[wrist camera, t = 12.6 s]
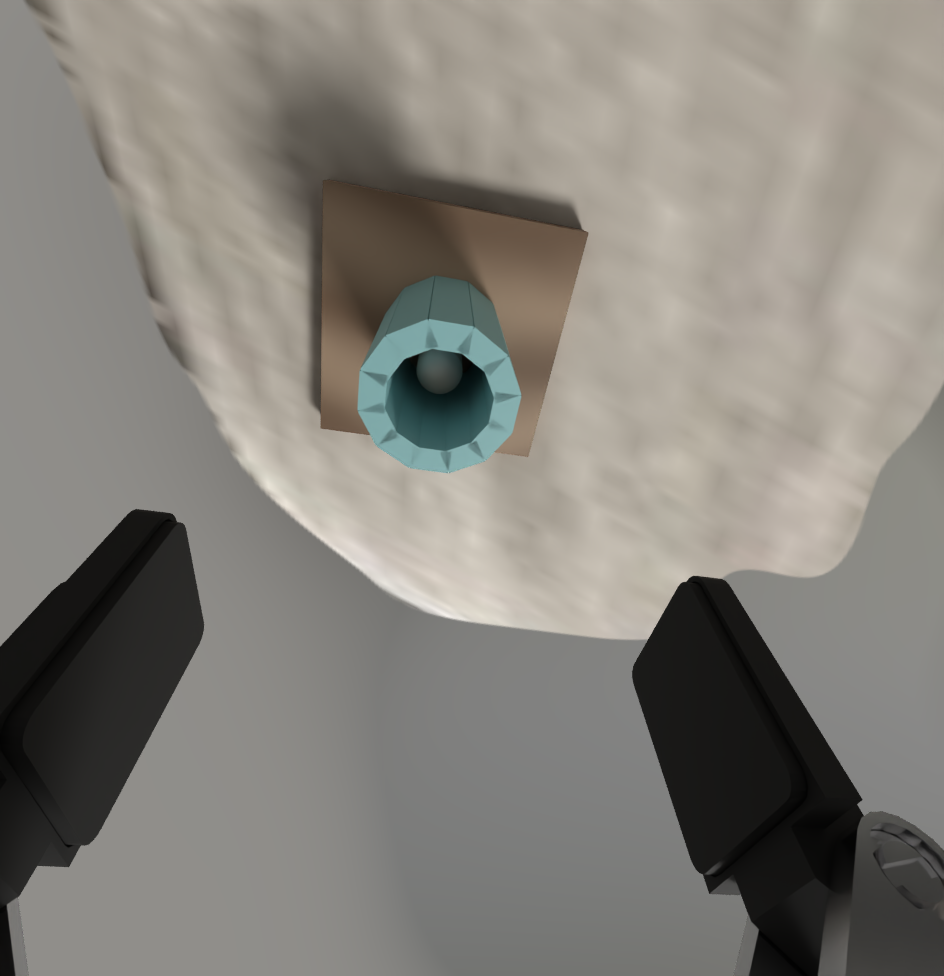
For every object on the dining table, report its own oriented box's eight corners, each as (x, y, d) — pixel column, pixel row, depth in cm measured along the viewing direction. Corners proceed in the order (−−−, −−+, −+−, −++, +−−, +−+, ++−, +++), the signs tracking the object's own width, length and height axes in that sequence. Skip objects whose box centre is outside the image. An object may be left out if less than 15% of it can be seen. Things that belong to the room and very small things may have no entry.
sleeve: (388, 266, 23) (363, 307, 17) (512, 289, 24) (536, 337, 17) (379, 386, 26) (354, 460, 20) (489, 402, 27) (500, 480, 21)
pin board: (328, 179, 22) (287, 184, 17) (582, 229, 24) (623, 249, 18) (325, 419, 29) (294, 480, 23) (525, 447, 30) (542, 511, 25)
